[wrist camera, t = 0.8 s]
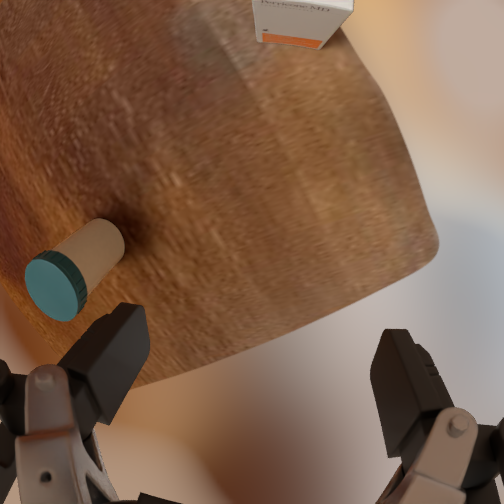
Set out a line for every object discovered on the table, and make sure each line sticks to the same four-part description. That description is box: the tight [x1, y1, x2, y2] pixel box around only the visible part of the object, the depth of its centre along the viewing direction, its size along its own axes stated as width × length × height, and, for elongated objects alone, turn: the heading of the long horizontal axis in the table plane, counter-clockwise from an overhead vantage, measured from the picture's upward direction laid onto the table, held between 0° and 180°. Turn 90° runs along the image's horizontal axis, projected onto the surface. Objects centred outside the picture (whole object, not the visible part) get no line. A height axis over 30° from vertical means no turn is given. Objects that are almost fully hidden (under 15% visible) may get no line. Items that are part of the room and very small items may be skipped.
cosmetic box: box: [252, 0, 354, 50], centre depth 17 cm, size 6×4×12 cm
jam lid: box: [25, 250, 88, 321], centre depth 23 cm, size 7×7×2 cm
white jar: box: [51, 218, 125, 297], centre depth 28 cm, size 6×6×11 cm
